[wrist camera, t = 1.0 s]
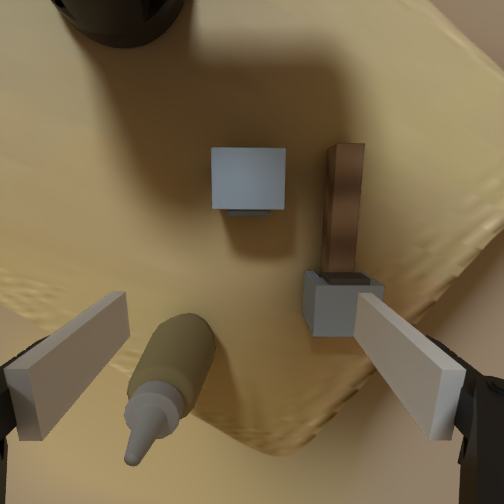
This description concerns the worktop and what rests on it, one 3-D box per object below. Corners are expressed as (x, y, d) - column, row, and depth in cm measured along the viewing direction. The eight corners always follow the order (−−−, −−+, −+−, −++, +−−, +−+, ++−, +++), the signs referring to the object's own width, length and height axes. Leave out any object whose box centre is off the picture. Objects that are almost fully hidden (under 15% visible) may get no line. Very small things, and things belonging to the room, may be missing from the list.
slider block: (357, 314, 35) (379, 337, 29) (302, 314, 35) (313, 336, 29) (361, 265, 34) (385, 279, 28) (304, 265, 34) (316, 279, 28)
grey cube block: (218, 157, 32) (210, 147, 26) (279, 157, 32) (286, 148, 26) (219, 213, 33) (212, 215, 27) (277, 213, 33) (283, 216, 27)
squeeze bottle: (205, 367, 37) (165, 519, 19) (151, 345, 36) (59, 482, 19) (228, 319, 36) (208, 435, 18) (173, 295, 35) (95, 392, 17)
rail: (327, 149, 32) (337, 143, 28) (352, 149, 32) (364, 143, 28) (317, 319, 36) (324, 332, 32) (339, 319, 36) (348, 332, 32)
